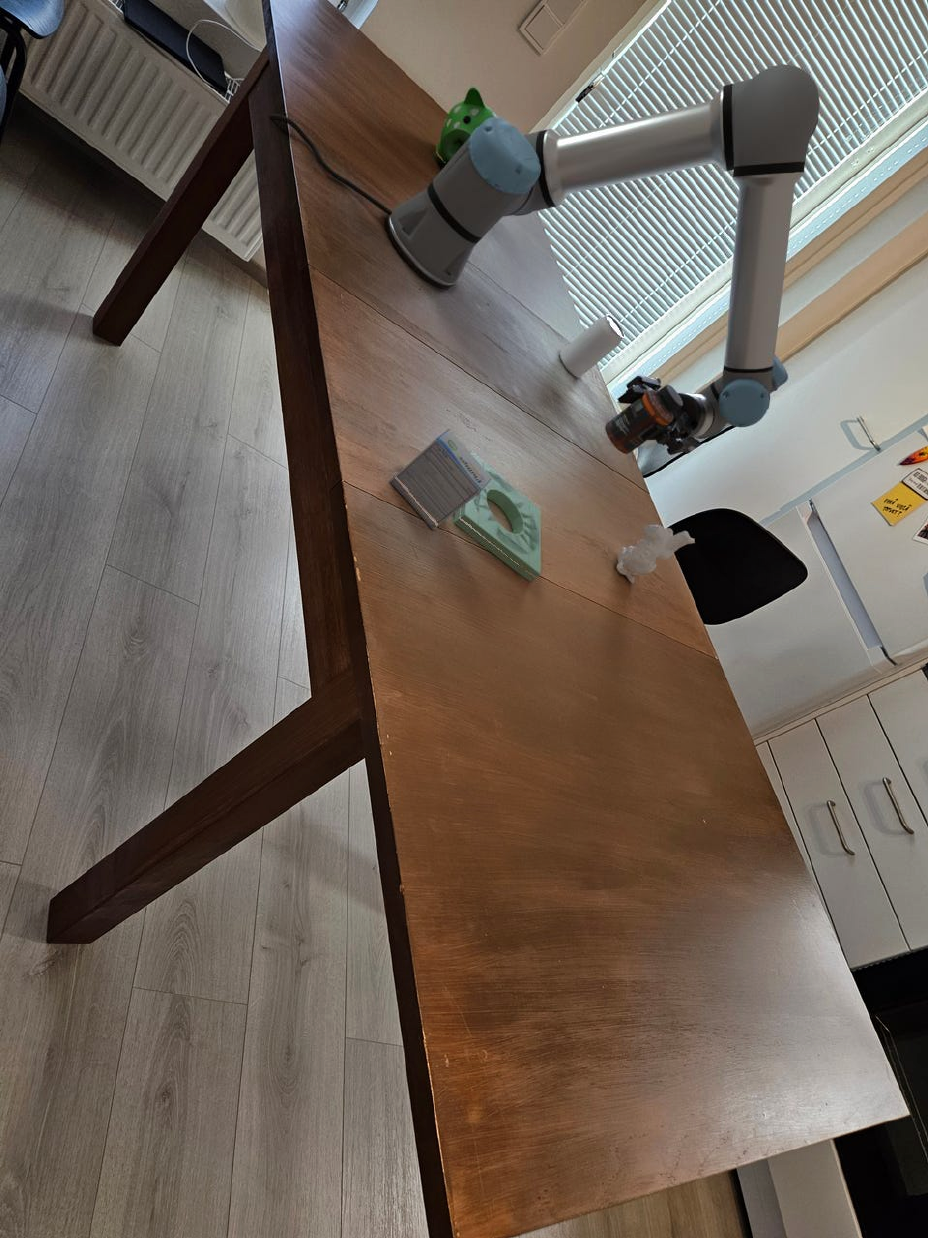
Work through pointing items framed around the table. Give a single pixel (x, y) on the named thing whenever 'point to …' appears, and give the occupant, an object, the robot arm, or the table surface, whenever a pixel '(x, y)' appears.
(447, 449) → the medicine box
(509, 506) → the socket pad
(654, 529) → the koala figurine
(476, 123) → the piggy bank
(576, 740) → the table surface
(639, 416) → the supplement bottle
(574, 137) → the robot arm
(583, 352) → the can
